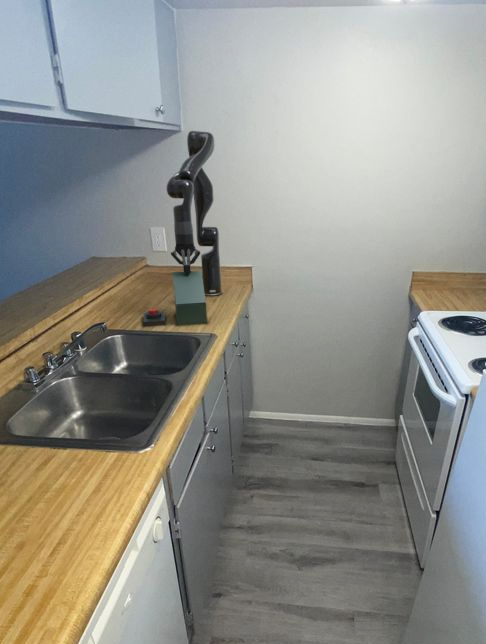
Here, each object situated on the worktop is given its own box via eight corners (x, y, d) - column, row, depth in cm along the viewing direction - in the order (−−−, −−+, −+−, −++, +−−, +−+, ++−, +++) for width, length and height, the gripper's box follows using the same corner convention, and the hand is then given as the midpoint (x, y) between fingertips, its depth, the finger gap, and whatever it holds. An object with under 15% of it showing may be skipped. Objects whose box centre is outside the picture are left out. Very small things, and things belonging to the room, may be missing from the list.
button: (149, 312, 207) (148, 308, 206) (157, 312, 208) (157, 308, 207) (149, 315, 204) (148, 311, 203) (157, 314, 205) (157, 310, 204)
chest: (176, 314, 216) (174, 295, 212) (203, 312, 219) (202, 293, 215) (177, 325, 203) (176, 305, 199) (207, 323, 206) (205, 304, 201)
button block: (144, 317, 212) (143, 309, 210) (164, 316, 214) (163, 307, 212) (144, 326, 201) (142, 317, 200) (165, 325, 203) (164, 316, 201)
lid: (172, 273, 205) (172, 272, 204) (201, 271, 207) (201, 270, 206) (175, 305, 199) (175, 304, 198) (205, 303, 202) (205, 302, 201)
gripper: (199, 230, 201) (201, 271, 209) (167, 231, 198) (171, 272, 206) (200, 233, 194) (203, 275, 202) (168, 234, 191) (172, 276, 200)
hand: (187, 273), depth 204 cm, fingers closed
